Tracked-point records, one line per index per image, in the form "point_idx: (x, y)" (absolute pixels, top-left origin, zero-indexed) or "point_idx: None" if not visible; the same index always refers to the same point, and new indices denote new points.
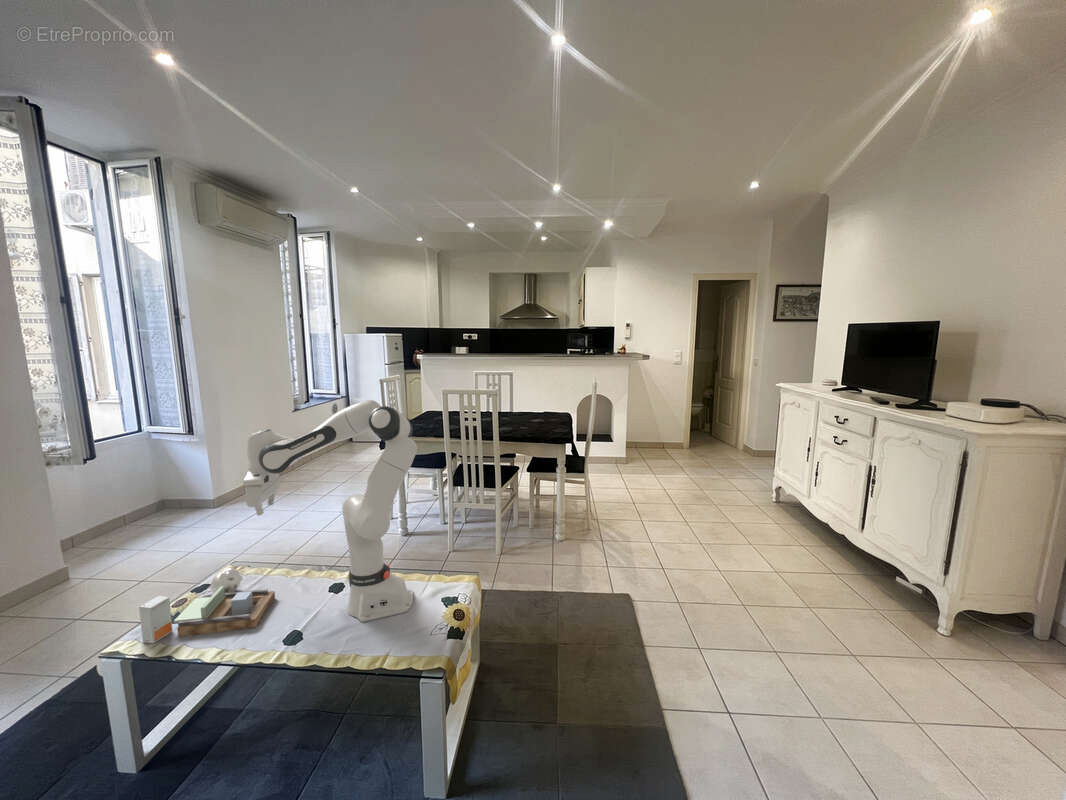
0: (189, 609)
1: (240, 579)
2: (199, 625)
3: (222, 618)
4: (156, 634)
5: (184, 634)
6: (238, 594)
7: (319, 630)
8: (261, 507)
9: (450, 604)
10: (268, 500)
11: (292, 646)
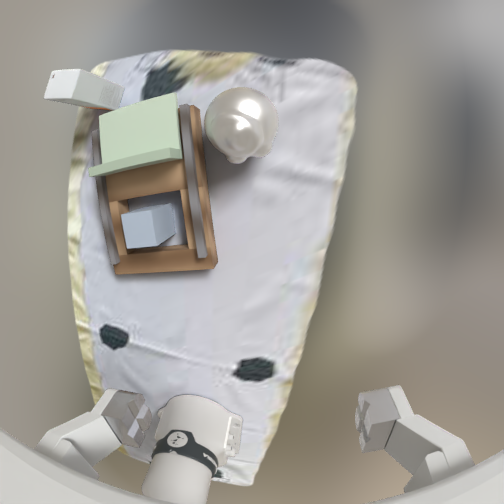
0: (131, 114)
1: (254, 156)
2: None
3: (101, 214)
4: (87, 107)
5: None
6: (144, 217)
7: (133, 366)
8: (90, 460)
9: None
10: (386, 424)
11: (99, 340)
